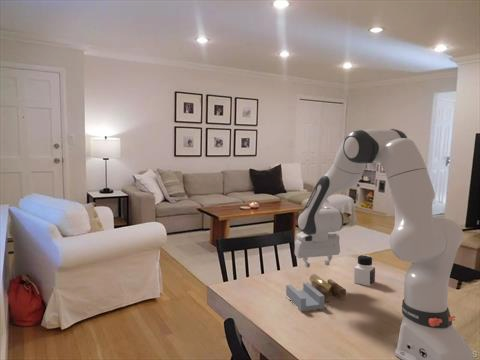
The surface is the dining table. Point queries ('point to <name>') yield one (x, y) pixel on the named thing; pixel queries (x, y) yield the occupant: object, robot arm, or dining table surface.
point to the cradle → (306, 297)
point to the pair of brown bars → (337, 291)
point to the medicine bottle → (364, 271)
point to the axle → (322, 283)
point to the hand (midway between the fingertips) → (317, 266)
